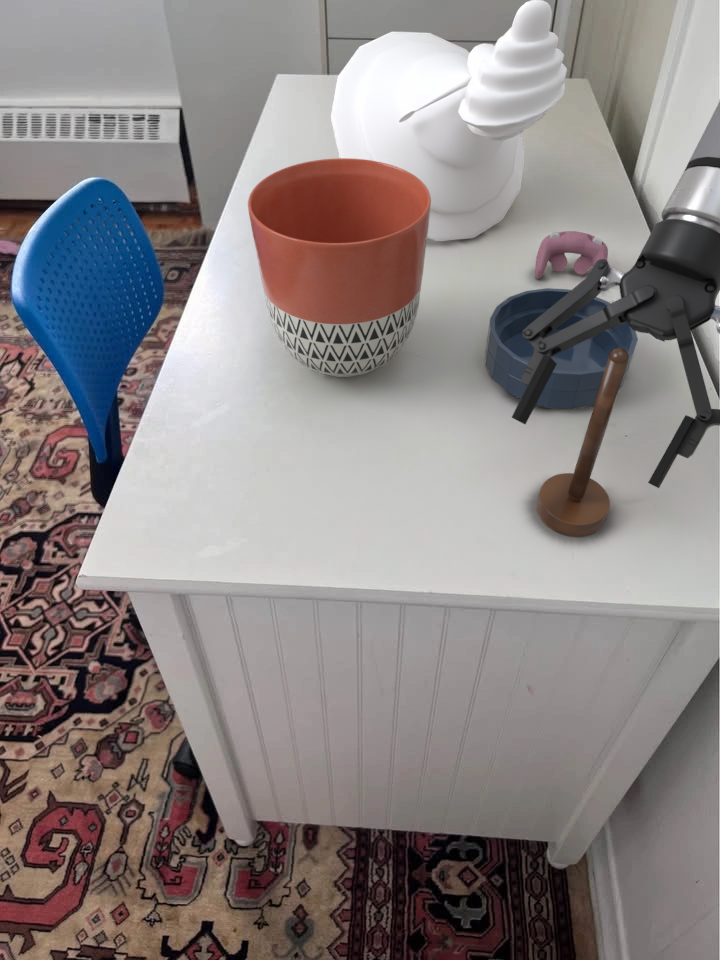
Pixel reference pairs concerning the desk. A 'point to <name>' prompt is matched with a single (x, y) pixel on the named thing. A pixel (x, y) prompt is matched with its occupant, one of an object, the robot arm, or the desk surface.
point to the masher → (584, 467)
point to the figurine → (452, 114)
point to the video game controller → (569, 251)
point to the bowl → (575, 366)
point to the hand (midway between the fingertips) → (582, 452)
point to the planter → (341, 260)
